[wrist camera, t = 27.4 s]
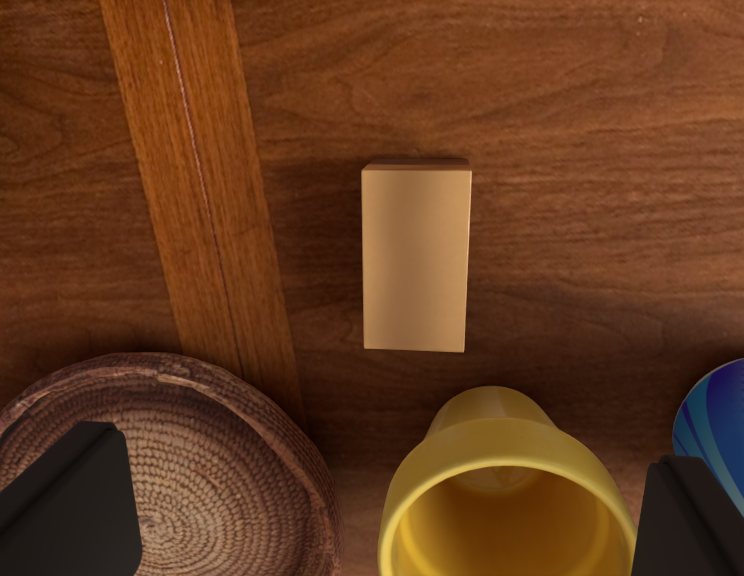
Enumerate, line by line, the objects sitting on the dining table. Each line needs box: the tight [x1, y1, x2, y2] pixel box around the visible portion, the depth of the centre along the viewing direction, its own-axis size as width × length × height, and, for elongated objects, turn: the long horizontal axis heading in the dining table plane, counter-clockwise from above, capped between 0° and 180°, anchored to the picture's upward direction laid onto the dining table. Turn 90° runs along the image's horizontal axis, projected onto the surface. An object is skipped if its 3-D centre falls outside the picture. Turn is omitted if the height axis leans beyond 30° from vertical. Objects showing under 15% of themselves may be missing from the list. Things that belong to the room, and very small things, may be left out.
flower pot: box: [377, 386, 638, 576], centre depth 28 cm, size 10×10×10 cm
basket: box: [0, 352, 345, 576], centre depth 34 cm, size 22×20×5 cm
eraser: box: [361, 158, 472, 352], centre depth 28 cm, size 4×8×4 cm, turn 1°
